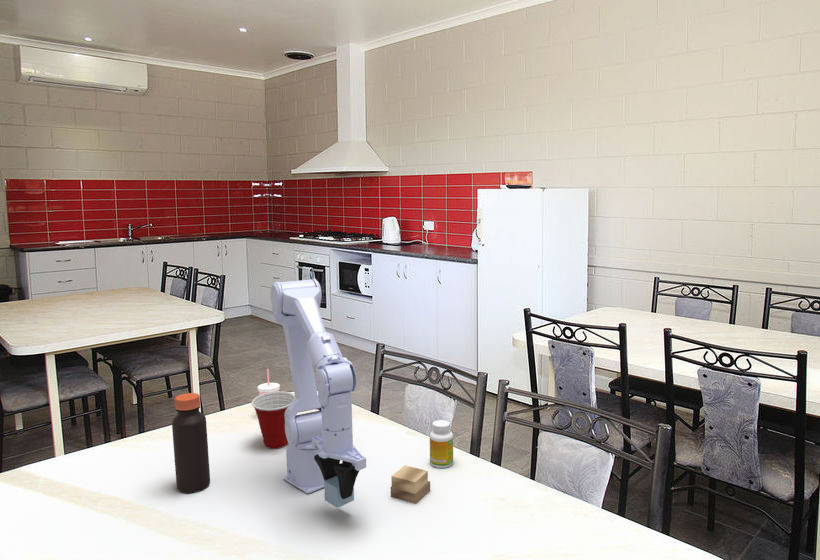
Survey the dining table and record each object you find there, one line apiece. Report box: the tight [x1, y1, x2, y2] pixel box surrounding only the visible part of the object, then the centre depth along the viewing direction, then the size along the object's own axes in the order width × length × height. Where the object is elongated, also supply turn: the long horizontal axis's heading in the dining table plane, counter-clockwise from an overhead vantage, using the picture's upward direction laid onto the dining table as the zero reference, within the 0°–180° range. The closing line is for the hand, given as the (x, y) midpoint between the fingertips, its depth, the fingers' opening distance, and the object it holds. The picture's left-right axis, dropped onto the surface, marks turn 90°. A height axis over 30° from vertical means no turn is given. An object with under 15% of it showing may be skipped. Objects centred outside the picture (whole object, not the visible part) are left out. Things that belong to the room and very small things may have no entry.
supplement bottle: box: [429, 419, 454, 469], centre depth 134 cm, size 5×5×10 cm
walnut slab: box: [390, 480, 431, 505], centre depth 121 cm, size 6×6×2 cm
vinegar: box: [171, 392, 211, 494], centre depth 124 cm, size 7×7×20 cm
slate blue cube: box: [323, 476, 355, 509], centre depth 113 cm, size 4×4×4 cm
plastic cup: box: [251, 390, 295, 449], centre depth 146 cm, size 11×11×12 cm
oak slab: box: [390, 465, 429, 494], centre depth 120 cm, size 6×6×2 cm
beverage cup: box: [256, 368, 281, 396], centre depth 165 cm, size 6×6×14 cm
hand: (339, 492), depth 113 cm, fingers closed on slate blue cube, 4 cm apart
